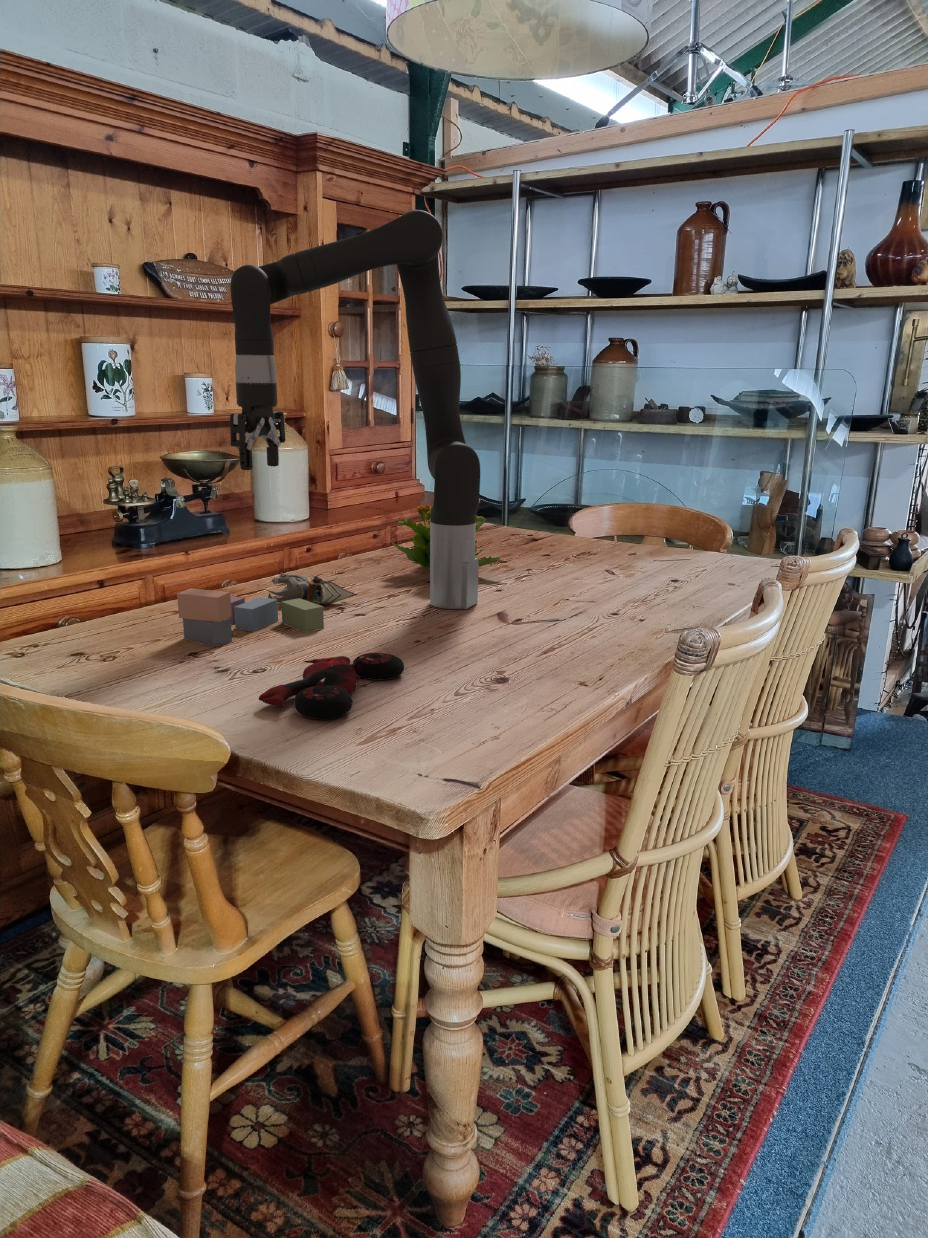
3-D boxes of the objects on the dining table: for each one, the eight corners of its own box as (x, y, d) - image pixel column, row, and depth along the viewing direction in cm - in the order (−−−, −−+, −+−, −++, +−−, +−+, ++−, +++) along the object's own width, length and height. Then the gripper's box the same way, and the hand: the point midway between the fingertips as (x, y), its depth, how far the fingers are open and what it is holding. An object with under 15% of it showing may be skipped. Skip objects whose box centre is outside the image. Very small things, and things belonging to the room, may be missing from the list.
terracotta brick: (231, 616, 154) (230, 592, 153) (219, 622, 150) (217, 597, 149) (192, 612, 156) (190, 588, 155) (178, 617, 152) (177, 593, 151)
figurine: (301, 565, 192) (371, 572, 187) (301, 592, 193) (370, 600, 188) (252, 578, 173) (328, 587, 168) (252, 608, 175) (328, 617, 170)
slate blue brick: (260, 619, 169) (259, 597, 167) (278, 621, 167) (277, 599, 166) (235, 629, 161) (234, 606, 160) (253, 632, 160) (252, 609, 159)
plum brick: (245, 620, 168) (244, 597, 167) (232, 625, 164) (231, 602, 163) (212, 615, 171) (210, 593, 170) (198, 620, 167) (197, 597, 166)
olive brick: (323, 629, 163) (323, 606, 162) (305, 633, 160) (304, 610, 159) (300, 620, 168) (299, 598, 167) (282, 623, 166) (281, 601, 165)
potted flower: (519, 571, 212) (521, 500, 207) (475, 591, 192) (477, 512, 187) (430, 560, 223) (430, 492, 218) (380, 578, 203) (379, 503, 198)
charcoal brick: (232, 642, 154) (230, 618, 153) (214, 647, 151) (212, 623, 149) (202, 634, 158) (200, 610, 157) (184, 639, 155) (182, 615, 154)
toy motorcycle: (409, 680, 141) (323, 653, 145) (413, 650, 139) (326, 624, 144) (333, 741, 118) (234, 707, 123) (337, 707, 117) (236, 674, 121)
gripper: (249, 381, 155) (254, 472, 160) (294, 380, 168) (297, 465, 173) (215, 380, 158) (220, 470, 163) (261, 380, 171) (265, 463, 175)
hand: (260, 467), depth 168 cm, fingers open, 8 cm apart
